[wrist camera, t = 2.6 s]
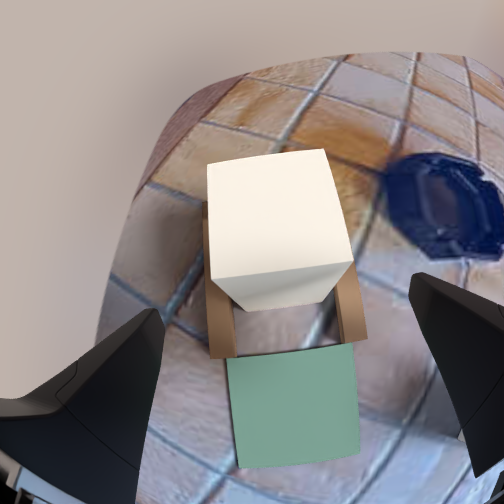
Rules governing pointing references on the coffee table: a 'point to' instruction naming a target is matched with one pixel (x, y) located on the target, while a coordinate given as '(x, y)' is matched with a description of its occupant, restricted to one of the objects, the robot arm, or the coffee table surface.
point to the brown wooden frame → (222, 307)
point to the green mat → (294, 407)
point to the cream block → (276, 229)
